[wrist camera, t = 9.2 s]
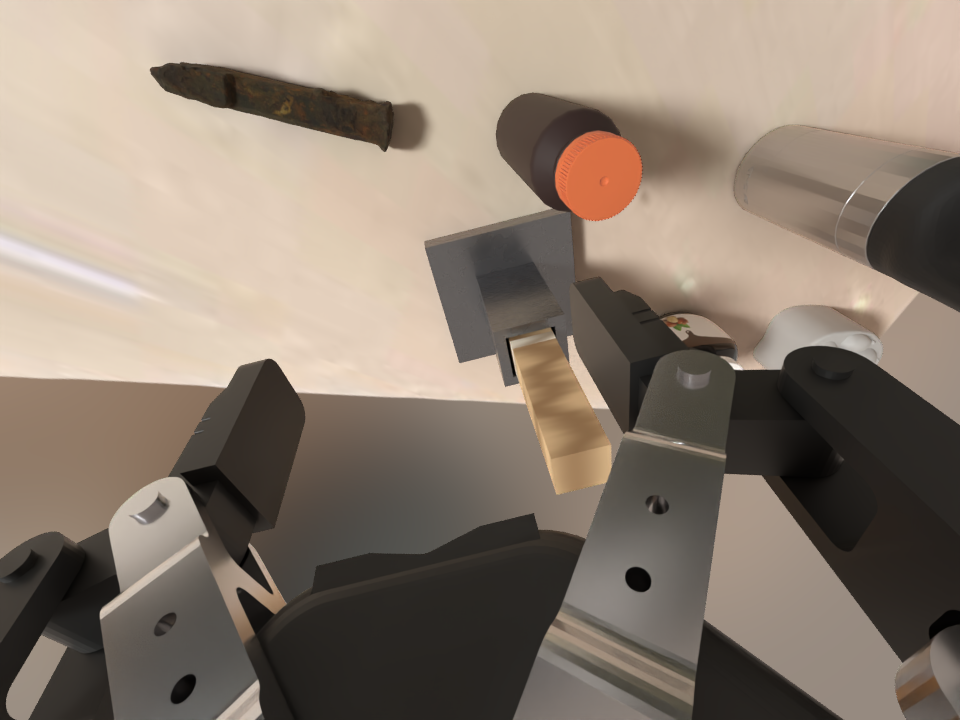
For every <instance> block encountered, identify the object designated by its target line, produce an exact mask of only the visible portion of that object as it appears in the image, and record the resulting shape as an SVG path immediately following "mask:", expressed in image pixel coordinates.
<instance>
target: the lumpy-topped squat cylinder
mask: <svg viewBox="0 0 960 720" xmlns="http://www.w3.org/2000/svg"><path fill="white" fill-rule="evenodd" d="M807 346H830V347H837V348H842V349H845V350H849V351H852V352H855V353H857V354H860V355H862V356H864V357H866V358H867V359H869V360H870V361H872V362H873V363H875V364H876V365H877V364H878V363H879V361H880V359H881V357H882V354H883V344H882V342H881V341H880V339H879V338H878V337H877V336H876V335H875V334H874V333H872V332H871V331H869V330H868V329H866V328H864V327H863V326H861V325H859V324H858V323H856V322H854V321H853V320H851V319H849V318H848V317H846V316H844V315H843V314H841V313H839V312H838V311H836V310H834V309H833V308H831V307H828V306H820V305H801V306H793V307H790V308H787V309H785V310H783V311H781V312H780V313H778V314H777V315H776V316H775V317H774V318H773V319H772V320H771V322H770V324H769V326H768V328H767V330H766V333H765V334H764V336H763V338H762V339H761V340H760V342H759V343H758V344H757V346H756V347H755V349H754V351H753V356H754V358H755V360H756V361H758V362H759V363H760V364H761V365H762V366H763V367H764V368H766V369H767V370H778V369H782V365H783V362H784V359H785V357H786V356H787V355H788V354H789V353H790V352H792V351H793V350H796V349H798V348H802V347H807Z"/></svg>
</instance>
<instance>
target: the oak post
mask: <svg viewBox="0 0 960 720" xmlns="http://www.w3.org/2000/svg"><path fill="white" fill-rule="evenodd" d="M506 344H507V347H508V350H509V353H510V356H511V359H512V362H513V365H514V368H515V371H516V375H517V378H518V381H519V383H520V386H521V389H522V392H523V395H524V398H525V401H526V404H527V407H528V410H529V413H530V416H531V419H532V422H533V425H534V428H535V431H536V434H537V437H538V440H539V442H540V446H541V449H542V452H543V455H544V458H545V461H546V464H547V467H548V470H549V473H550V476H551V479H552V482H553V485H554V488H555V491H556V494H557V495H558V494H562V493H566V492H570V491H574V490H578V489H583V488H586V487H591V486H595V485H599V484H603V483H606V482H607V479H608V476H609V474H610V471H611V444H610V442H609V440H608V438H607V436H606V434H605V432H604V430H603V429H602V426H601V424H600V423H599V420H598V419H597V417H596V415H595V413H594V411H593V409H592V407H591V405H590V403H589V401H588V399H587V397H586V395H585V393H584V392H583V390H582V388H581V386H580V384H579V382H578V380H577V378H576V376H575V374H574V372H573V370H572V368H571V366H570V364H569V363H568V361H567V359H566V357H565V355H564V353H563V351H562V349H561V347H560V345H559V343H558V341H557V339H556V337H555V335H554V333H553V331H552V330H551V328H546V329H542V330H538V331H534V332H530V333H526V334H522V335H518V336H514V337H510V338H506Z"/></svg>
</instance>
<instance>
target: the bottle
mask: <svg viewBox="0 0 960 720" xmlns="http://www.w3.org/2000/svg"><path fill="white" fill-rule="evenodd" d="M496 140H497V147H498V149H499V151H500V154H501V156H502V157H503V159H504V160H505V161H506V162H507V163H508V164H509V165H510V166H511V167H512V169H513V170H514V171H515V172H516V173H517V174H518V175H519V176H520V177H521V178H522V180H523V181H524V182H525V183H526V184H527V185H528V186H529V187H530V188H531V189H532V190H533V192H534V193H535V194H536V195H537V196H538V197H539V198H540V199H541V200H542V201H543V202H544V204H546V205H548V206H550V207H552V208H553V209H555V210H557V211H564V212H574V213H575V214H576V215H577V216H579V217H580V218H583V219H584V218H585V219H586V220H587V219H588V220H589V221H590V220H592V221H593V220H595V221H596V220H598V221H599V220H603V219H604V220H606V219H607V218H608V219H609V218H610V217H611V218H612V216H615V215H616V214H618V213H620V212H621V211H622V210H624V208H625V207H626V206H627V205H629V203H630V202H632V201H631V200H632V199H634V198H633V197H634V196H636V195H635V194H636V193H637V190H638V189H639V188H638V187H639V185H640V182H641V178H642V177H641V175H642V171H643V170H642V167H643V166H642V165H641V164H642V162H641V160H642V159H640V157H641V156H639V153H638V152H637V151H638V150H637V149H636V147H634V145H633V144H631V142H629V140H626V139H625V138H623V137H621V135H620V132H619V130H618V128H617V127H616V126H615V124H614V123H613V121H612V120H611V119H610V118H609V117H607V116H606V115H604V114H603V113H601V112H600V111H598V110H596V109H592V108H589V107H585V106H582V105H578V104H575V103H571V102H567V101H564V100H560V99H557V98H553V97H550V96H546V95H543V94H537V93H528V94H523V95H520V96H519V97H517V98H515V99H514V100H512V101H511V102H510V103H509V104H508V105H507V106H506V108H505V109H504V110H503V112H502V114H501V116H500V118H499V120H498V124H497V130H496ZM626 208H627V207H626Z"/></svg>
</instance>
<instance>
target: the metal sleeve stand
mask: <svg viewBox="0 0 960 720" xmlns="http://www.w3.org/2000/svg"><path fill="white" fill-rule="evenodd" d="M425 250H426V253H427V256H428V260H429V263H430V266H431V270H432V273H433V276H434V280H435V283H436V286H437V290H438V293H439V296H440V300H441V303H442V306H443V310H444V313H445V316H446V320H447V323H448V326H449V330H450V333H451V336H452V340H453V343H454V346H455V350H456V353H457V356H458V360H459V363H462V362H466V361H470V360H474V359H478V358H482V357H486V356H490V355H494V354H496V357H497V360H498V364H499V367H500V371H501V374H502V378H503V381H504V385H505V387H506V386H510V385H514V384H518V383H519V381H518V378H517V375H516V371H515V368H514V365H513V362H512V359H511V356H510V353H509V350H508V347H507V344H506V338H510V337H514V336H518V335H522V334H526V333H530V332H534V331H538V330H542V329H546V328H551V330H552V331H553V333H554V335H555V337H556V339H557V341H558V343H559V345H560V347H561V349H562V351H563V353H564V355H565V357H566V359H567V361H568V363H569V354H568V343H567V336H570V335H573V329H572V317H571V305H570V293H569V288H570V284H571V283H575V270H574V256H573V242H572V228H571V214H570V212H564V211H557V210H555V209H551V210H547V211H543V212H539V213H535V214H531V215H527V216H523V217H519V218H515V219H511V220H507V221H503V222H499V223H496V224H492V225H488V226H484V227H480V228H476V229H472V230H468V231H464V232H460V233H456V234H452V235H448V236H444V237H440V238H436V239H432V240H428V241H425Z"/></svg>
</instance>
